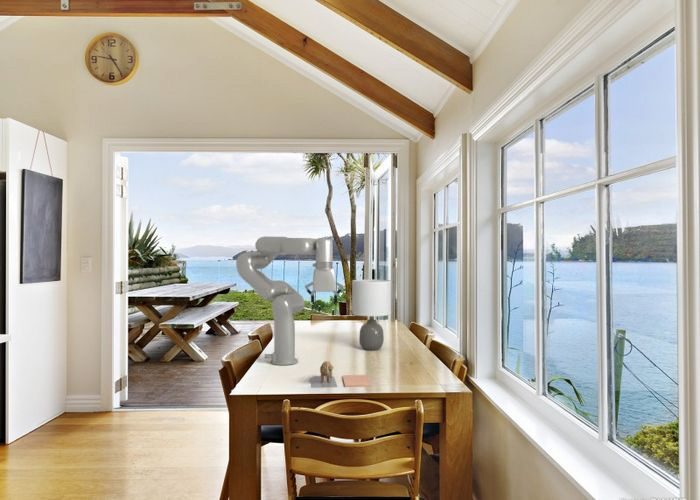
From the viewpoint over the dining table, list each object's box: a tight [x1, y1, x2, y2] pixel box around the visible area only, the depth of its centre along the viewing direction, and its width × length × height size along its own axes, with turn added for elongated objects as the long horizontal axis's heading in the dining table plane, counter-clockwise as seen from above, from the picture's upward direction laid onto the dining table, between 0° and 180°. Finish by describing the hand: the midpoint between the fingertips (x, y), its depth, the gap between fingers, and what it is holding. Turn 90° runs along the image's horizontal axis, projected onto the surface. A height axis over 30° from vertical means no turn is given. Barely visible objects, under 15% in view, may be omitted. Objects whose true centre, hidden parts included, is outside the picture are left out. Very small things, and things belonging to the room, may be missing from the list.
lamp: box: [351, 279, 392, 351], centre depth 267 cm, size 21×21×37 cm
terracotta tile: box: [342, 374, 372, 388], centre depth 199 cm, size 10×16×1 cm, turn 4°
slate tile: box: [309, 376, 338, 389], centre depth 198 cm, size 10×16×1 cm, turn 7°
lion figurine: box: [319, 360, 335, 383], centre depth 200 cm, size 15×5×9 cm, turn 5°
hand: (324, 304), depth 223 cm, fingers open, 9 cm apart
